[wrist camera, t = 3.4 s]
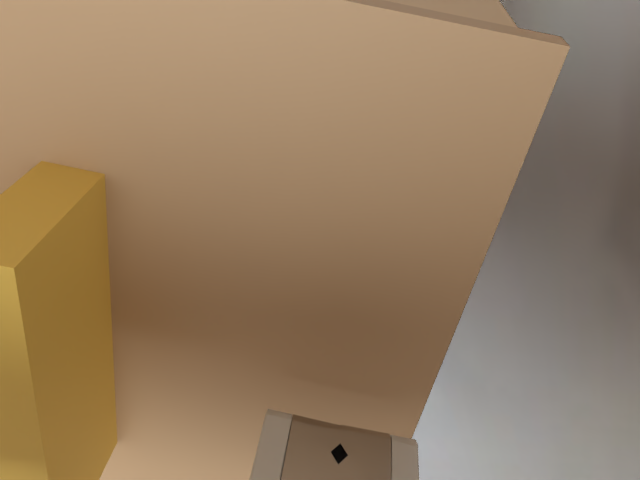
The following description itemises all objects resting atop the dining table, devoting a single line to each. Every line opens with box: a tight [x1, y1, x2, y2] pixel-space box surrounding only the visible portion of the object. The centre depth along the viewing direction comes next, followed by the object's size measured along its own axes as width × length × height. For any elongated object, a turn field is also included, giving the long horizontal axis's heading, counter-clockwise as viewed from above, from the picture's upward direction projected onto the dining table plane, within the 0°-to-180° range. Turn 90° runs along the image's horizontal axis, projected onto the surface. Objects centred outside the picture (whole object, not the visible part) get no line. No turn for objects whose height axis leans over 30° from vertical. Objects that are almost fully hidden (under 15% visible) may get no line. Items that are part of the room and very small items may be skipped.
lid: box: [0, 0, 570, 480], centre depth 12 cm, size 16×16×4 cm
